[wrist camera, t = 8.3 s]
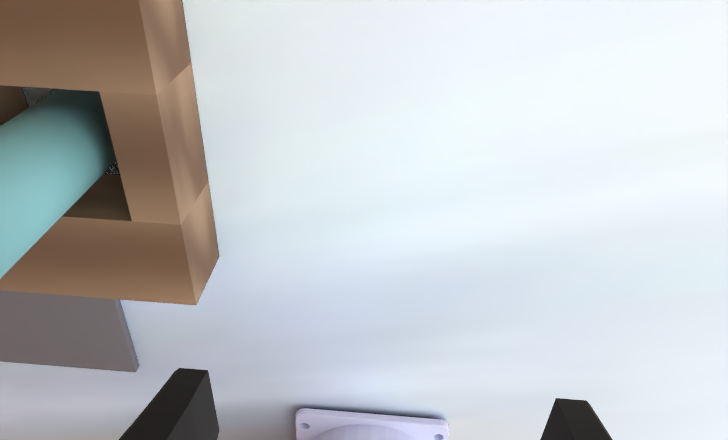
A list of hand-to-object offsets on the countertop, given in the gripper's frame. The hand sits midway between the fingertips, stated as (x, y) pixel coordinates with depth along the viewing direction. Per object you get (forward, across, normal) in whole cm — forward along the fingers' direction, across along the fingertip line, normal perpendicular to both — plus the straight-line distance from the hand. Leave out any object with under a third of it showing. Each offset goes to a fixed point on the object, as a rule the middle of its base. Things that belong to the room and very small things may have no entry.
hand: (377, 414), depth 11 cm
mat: (+10, +16, +8) cm, 21 cm away
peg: (+10, +11, -1) cm, 15 cm away
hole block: (+10, +11, -2) cm, 15 cm away
